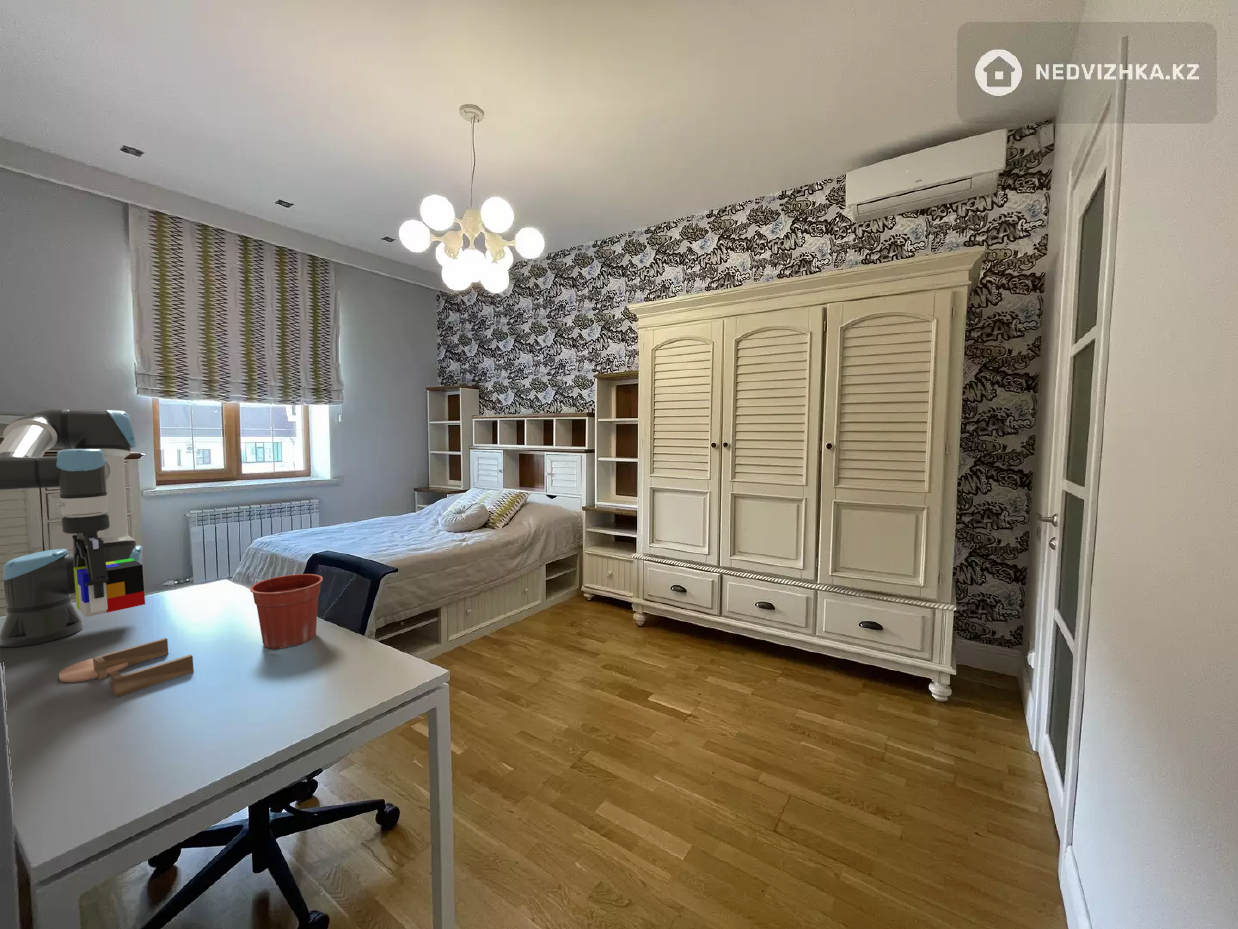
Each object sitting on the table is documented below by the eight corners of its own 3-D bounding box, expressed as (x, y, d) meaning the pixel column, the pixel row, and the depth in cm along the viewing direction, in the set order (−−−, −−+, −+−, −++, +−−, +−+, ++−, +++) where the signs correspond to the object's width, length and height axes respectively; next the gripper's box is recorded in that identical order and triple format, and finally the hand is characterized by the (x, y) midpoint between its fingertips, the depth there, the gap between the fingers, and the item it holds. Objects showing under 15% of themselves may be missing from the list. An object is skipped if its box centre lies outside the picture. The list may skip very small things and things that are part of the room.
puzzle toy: (85, 617, 112) (82, 574, 111) (76, 608, 117) (73, 567, 117) (145, 604, 120) (142, 564, 119) (134, 596, 126) (131, 558, 125)
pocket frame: (94, 674, 115) (92, 657, 115) (166, 652, 126) (165, 637, 125) (117, 697, 105) (115, 679, 105) (193, 671, 116) (192, 655, 116)
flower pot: (328, 642, 132) (326, 584, 131) (253, 659, 122) (249, 597, 121) (321, 623, 145) (319, 570, 144) (252, 637, 135) (249, 580, 134)
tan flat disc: (53, 673, 115) (53, 669, 115) (124, 653, 125) (123, 649, 125) (65, 687, 109) (65, 683, 109) (139, 665, 119) (138, 661, 119)
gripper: (50, 512, 117) (58, 601, 119) (74, 522, 105) (82, 621, 107) (95, 507, 124) (101, 593, 125) (122, 516, 112) (129, 611, 113)
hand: (92, 606), depth 116 cm, fingers closed on puzzle toy, 10 cm apart
